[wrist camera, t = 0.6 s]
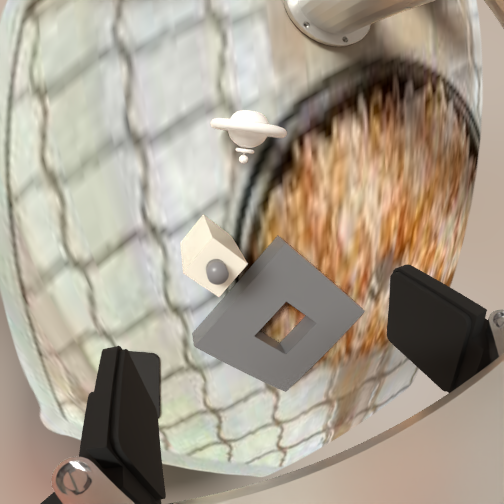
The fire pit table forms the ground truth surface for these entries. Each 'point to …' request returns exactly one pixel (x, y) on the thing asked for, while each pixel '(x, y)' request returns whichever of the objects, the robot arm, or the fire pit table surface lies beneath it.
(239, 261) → the plug
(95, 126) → the fire pit table surface
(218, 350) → the socket plate
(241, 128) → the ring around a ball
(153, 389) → the phone
